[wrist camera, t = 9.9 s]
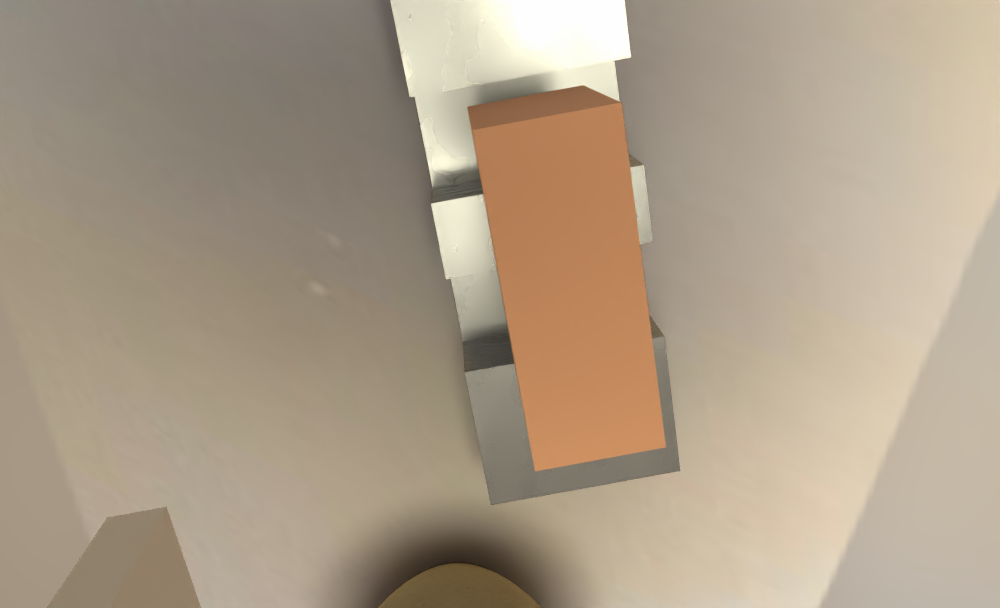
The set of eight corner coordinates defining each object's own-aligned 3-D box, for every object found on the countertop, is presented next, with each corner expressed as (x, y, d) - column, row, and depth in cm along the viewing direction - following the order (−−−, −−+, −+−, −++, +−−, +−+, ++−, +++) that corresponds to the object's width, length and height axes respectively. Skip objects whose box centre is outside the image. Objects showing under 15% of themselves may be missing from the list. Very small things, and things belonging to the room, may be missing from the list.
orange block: (464, 95, 30) (472, 130, 20) (563, 76, 30) (621, 102, 20) (508, 335, 33) (535, 471, 23) (600, 318, 33) (665, 447, 23)
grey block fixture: (381, -73, 29) (372, -86, 25) (590, -111, 29) (609, -129, 25) (487, 459, 35) (490, 505, 32) (658, 428, 35) (680, 471, 32)
